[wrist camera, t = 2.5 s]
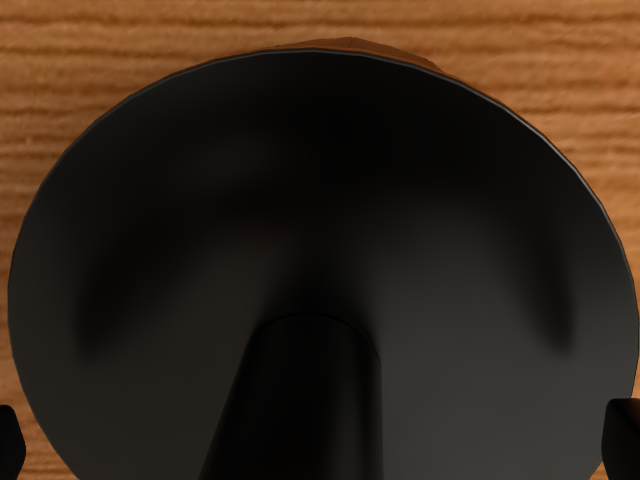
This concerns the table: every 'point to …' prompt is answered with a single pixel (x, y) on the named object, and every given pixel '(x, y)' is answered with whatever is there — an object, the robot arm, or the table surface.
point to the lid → (320, 282)
